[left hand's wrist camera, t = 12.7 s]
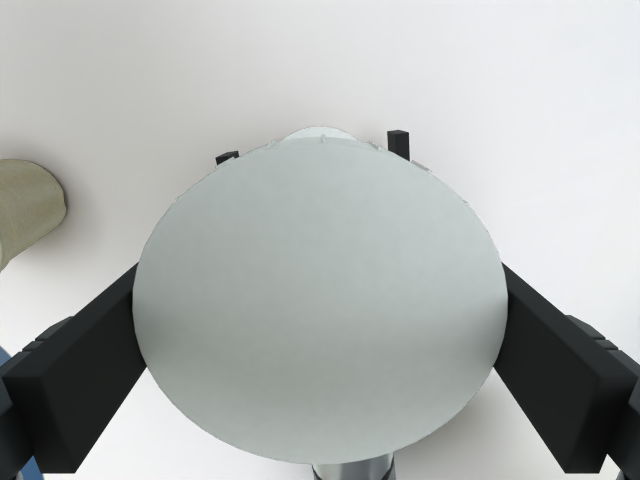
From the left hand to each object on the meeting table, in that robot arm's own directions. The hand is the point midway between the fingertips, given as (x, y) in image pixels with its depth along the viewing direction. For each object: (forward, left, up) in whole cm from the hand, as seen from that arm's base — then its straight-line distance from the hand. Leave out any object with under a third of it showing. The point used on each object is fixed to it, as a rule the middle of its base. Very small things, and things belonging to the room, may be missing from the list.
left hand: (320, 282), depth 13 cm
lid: (0, 0, +3) cm, 3 cm away
